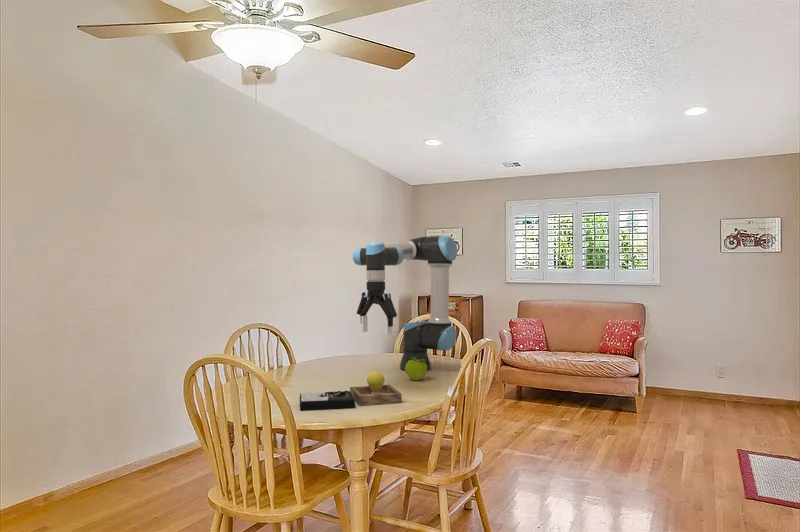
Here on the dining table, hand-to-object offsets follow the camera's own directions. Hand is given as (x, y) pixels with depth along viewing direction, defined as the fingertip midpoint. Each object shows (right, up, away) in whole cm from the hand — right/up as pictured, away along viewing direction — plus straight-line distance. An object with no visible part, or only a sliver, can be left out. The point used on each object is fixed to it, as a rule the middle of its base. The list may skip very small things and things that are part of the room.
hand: (376, 333), depth 218 cm
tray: (0, -23, -13) cm, 27 cm away
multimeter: (-17, -24, -22) cm, 37 cm away
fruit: (+16, -24, +21) cm, 36 cm away
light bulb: (0, -23, -13) cm, 26 cm away
